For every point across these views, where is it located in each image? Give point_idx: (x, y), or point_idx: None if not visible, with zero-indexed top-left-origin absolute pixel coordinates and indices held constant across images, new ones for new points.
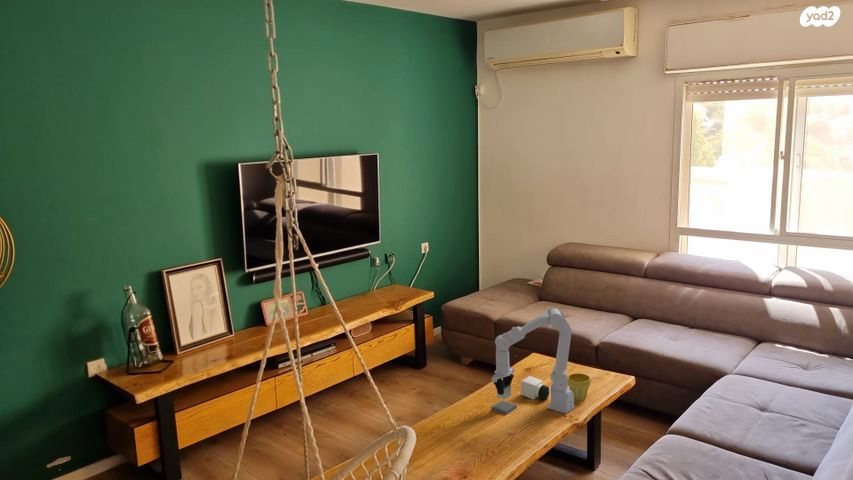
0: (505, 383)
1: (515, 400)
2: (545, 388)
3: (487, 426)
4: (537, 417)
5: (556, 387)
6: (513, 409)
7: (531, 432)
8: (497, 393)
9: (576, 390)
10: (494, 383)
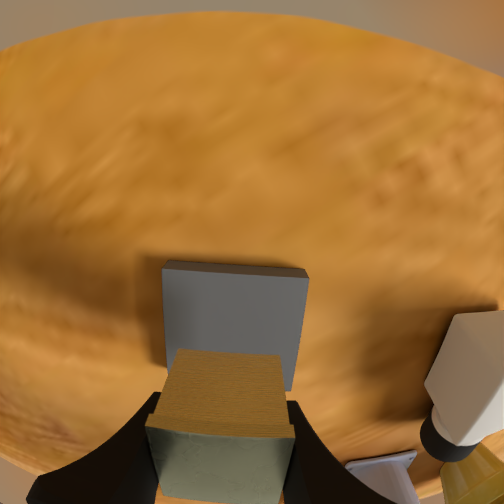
0: (292, 467)
1: (389, 316)
2: (449, 461)
3: (21, 337)
4: None
5: None
6: None
7: None
8: (170, 376)
9: (446, 501)
10: (71, 469)
